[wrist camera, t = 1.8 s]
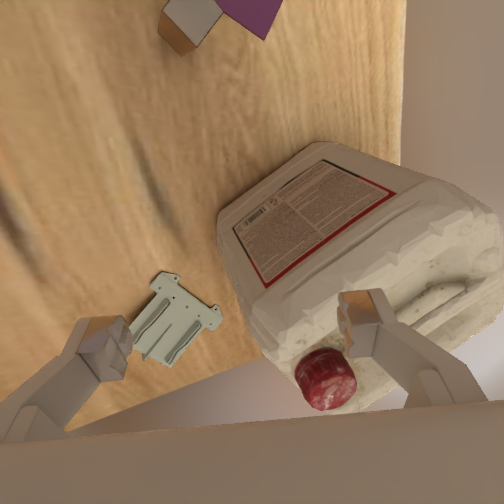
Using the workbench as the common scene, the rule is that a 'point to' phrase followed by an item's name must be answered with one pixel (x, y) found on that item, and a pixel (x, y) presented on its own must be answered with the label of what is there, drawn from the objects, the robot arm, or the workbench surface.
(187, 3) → the walnut stick
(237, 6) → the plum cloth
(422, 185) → the jerry can
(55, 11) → the workbench surface
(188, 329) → the metal bracket
